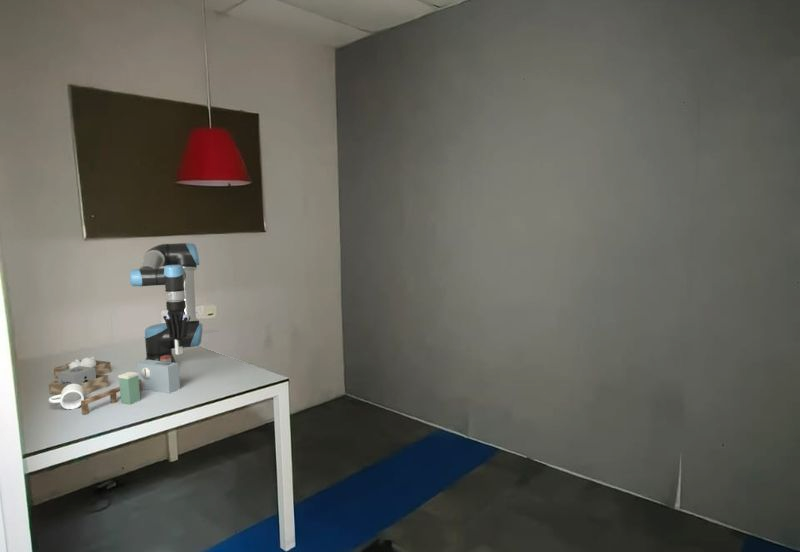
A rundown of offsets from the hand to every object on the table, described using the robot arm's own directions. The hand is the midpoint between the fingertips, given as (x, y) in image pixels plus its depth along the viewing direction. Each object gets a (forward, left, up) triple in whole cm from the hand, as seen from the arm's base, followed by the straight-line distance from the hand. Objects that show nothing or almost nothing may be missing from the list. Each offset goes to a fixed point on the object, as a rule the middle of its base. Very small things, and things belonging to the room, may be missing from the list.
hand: (179, 353), depth 212 cm
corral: (+4, -56, -18) cm, 59 cm away
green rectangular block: (+16, -12, -18) cm, 27 cm away
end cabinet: (0, -13, -18) cm, 22 cm away
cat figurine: (-6, -69, -18) cm, 71 cm away
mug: (+28, -33, -18) cm, 47 cm away
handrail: (+18, -19, -18) cm, 32 cm away
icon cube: (+14, -45, -18) cm, 51 cm away
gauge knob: (0, -8, -5) cm, 10 cm away
